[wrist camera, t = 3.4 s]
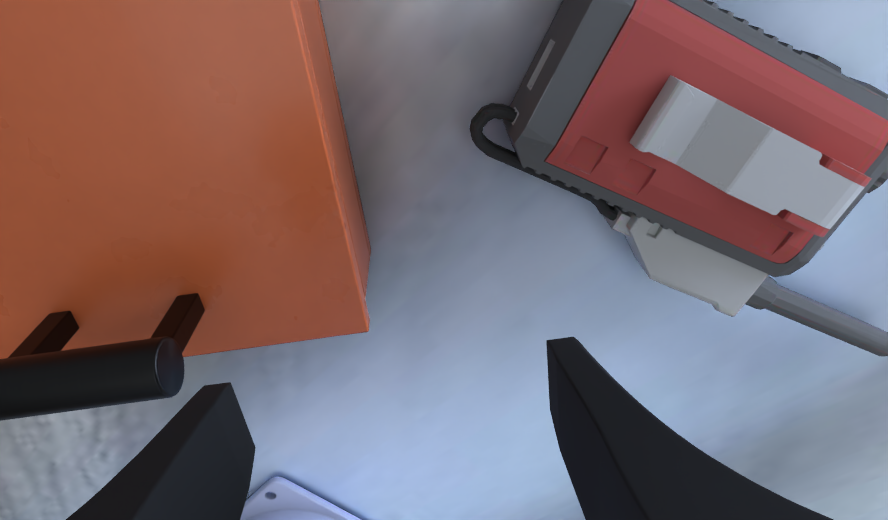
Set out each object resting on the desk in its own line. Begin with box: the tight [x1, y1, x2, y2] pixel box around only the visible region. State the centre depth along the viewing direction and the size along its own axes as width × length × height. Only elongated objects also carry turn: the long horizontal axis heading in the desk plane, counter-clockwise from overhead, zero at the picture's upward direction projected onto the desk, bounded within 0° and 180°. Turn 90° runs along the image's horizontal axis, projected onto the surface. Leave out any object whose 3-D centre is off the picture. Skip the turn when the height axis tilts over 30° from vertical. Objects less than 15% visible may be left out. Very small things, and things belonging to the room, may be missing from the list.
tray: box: [297, 0, 371, 296], centre depth 19 cm, size 11×14×4 cm
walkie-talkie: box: [470, 0, 888, 356], centre depth 20 cm, size 9×4×20 cm
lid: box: [0, 0, 370, 421], centre depth 15 cm, size 12×14×5 cm
